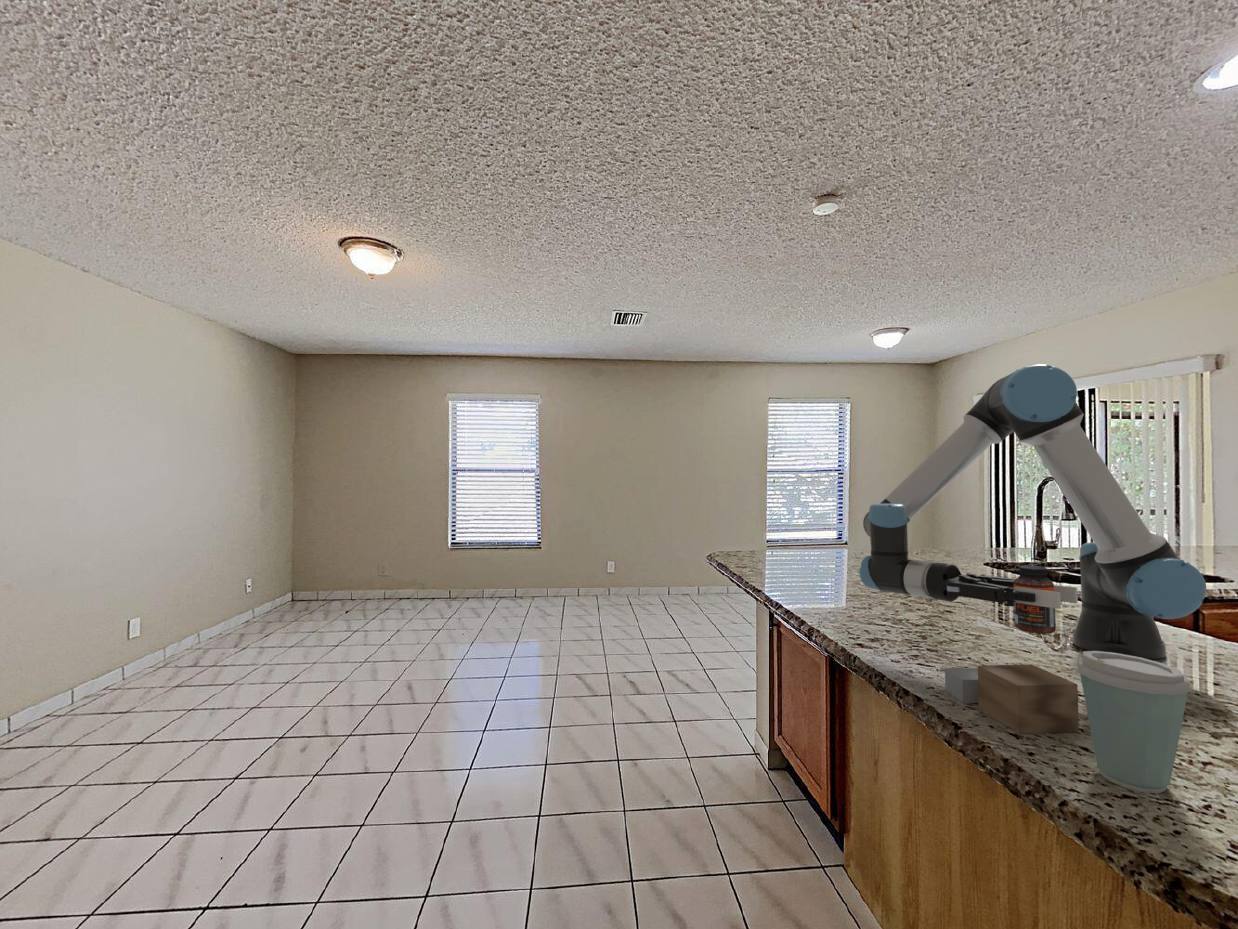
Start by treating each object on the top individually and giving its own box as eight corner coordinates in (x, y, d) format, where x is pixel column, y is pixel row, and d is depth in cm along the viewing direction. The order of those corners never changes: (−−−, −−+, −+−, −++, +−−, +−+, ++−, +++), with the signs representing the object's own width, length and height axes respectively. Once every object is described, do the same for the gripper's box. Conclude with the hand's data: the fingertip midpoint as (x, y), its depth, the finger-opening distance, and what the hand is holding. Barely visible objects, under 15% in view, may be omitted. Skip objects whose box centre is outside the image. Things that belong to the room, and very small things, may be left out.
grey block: (980, 691, 101) (979, 668, 101) (1000, 704, 95) (999, 680, 95) (945, 690, 101) (944, 667, 101) (963, 703, 95) (962, 679, 95)
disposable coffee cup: (1128, 757, 76) (1124, 644, 77) (1223, 802, 65) (1218, 671, 66) (1057, 763, 75) (1053, 648, 75) (1141, 810, 64) (1137, 675, 65)
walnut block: (1032, 707, 93) (1031, 664, 93) (1079, 732, 84) (1077, 684, 84) (978, 709, 93) (977, 665, 93) (1019, 733, 84) (1017, 685, 84)
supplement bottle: (1012, 631, 102) (1009, 567, 102) (1018, 624, 106) (1014, 563, 106) (1054, 636, 98) (1050, 570, 98) (1058, 629, 102) (1054, 566, 102)
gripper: (959, 593, 122) (1092, 612, 102) (908, 605, 112) (1043, 628, 93) (957, 557, 122) (1089, 570, 103) (906, 566, 112) (1041, 582, 93)
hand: (1067, 597), depth 98 cm, fingers closed on supplement bottle, 6 cm apart
